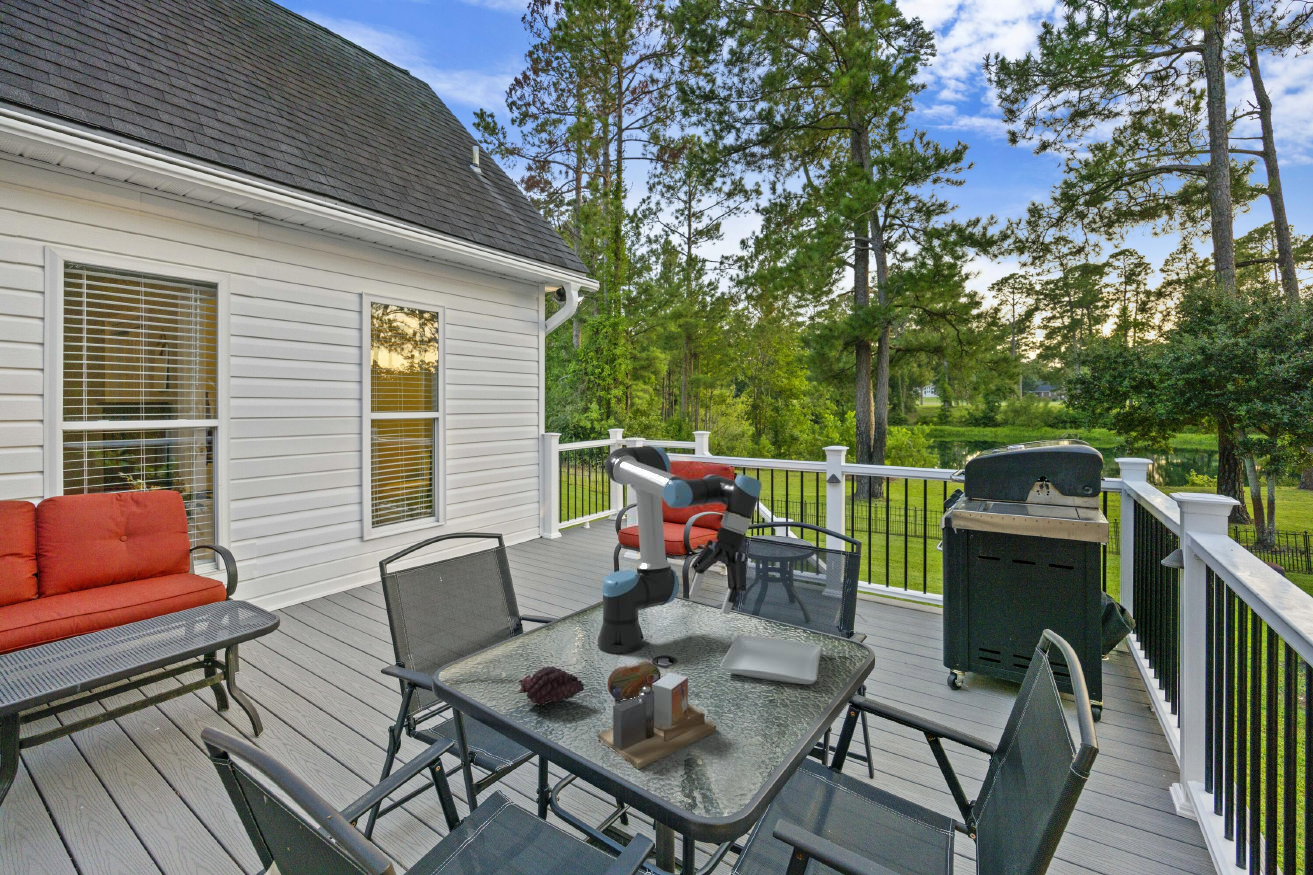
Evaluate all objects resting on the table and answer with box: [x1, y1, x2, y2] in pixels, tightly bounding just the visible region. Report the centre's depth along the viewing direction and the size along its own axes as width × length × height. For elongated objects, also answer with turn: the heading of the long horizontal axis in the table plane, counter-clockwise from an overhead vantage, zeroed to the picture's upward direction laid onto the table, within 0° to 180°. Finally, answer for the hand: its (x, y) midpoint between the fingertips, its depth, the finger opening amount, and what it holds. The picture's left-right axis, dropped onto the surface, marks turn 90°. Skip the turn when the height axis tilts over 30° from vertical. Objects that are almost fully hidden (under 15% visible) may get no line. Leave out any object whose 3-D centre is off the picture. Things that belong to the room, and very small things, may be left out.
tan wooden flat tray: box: [597, 704, 717, 770], centre depth 142 cm, size 15×24×4 cm, turn 130°
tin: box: [606, 661, 662, 702], centre depth 162 cm, size 15×3×8 cm, turn 117°
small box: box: [652, 672, 689, 730], centre depth 145 cm, size 8×6×10 cm
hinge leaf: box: [612, 686, 654, 751], centre depth 138 cm, size 4×10×11 cm, turn 130°
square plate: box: [719, 634, 823, 685], centre depth 181 cm, size 27×27×4 cm
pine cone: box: [518, 665, 585, 706], centre depth 157 cm, size 18×10×10 cm, turn 85°
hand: (708, 604), depth 164 cm, fingers open, 13 cm apart
